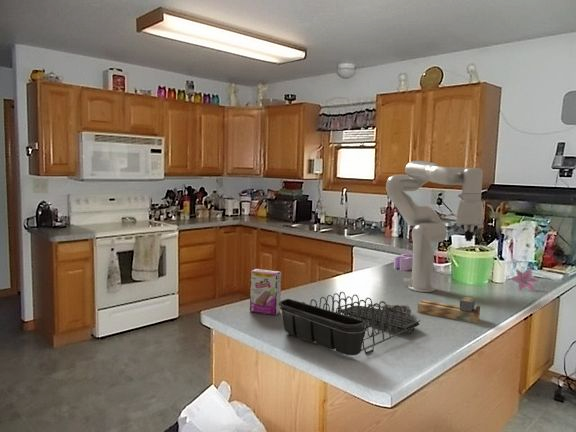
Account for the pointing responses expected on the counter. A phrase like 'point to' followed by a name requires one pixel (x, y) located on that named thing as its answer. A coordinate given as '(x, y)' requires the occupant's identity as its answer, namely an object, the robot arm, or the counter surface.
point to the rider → (467, 304)
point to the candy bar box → (265, 291)
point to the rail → (448, 311)
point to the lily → (525, 279)
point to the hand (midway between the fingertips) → (468, 240)
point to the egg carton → (404, 309)
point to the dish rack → (342, 323)
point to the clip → (403, 262)
